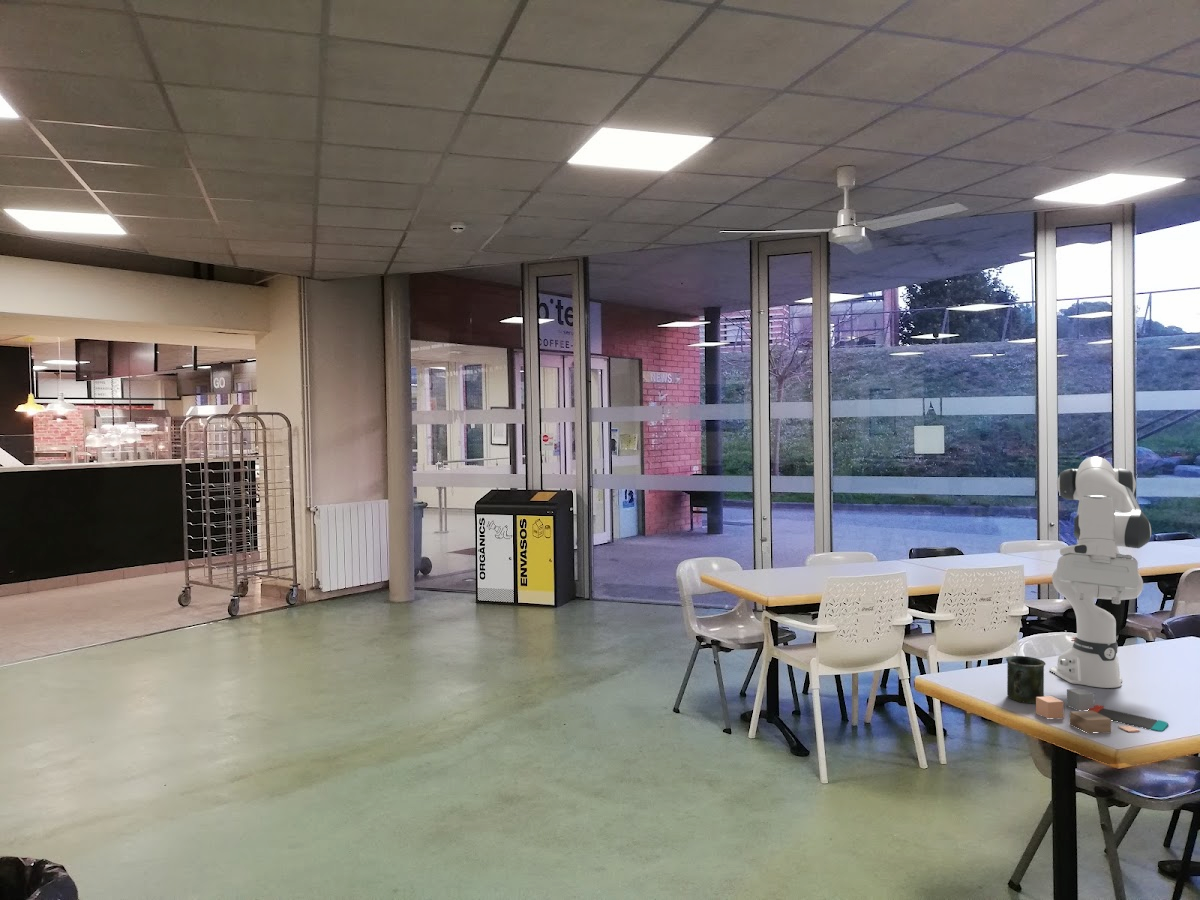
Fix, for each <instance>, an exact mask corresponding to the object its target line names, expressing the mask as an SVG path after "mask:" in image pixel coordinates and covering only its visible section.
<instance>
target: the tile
mask: <svg viewBox="0 0 1200 900" xmlns="http://www.w3.org/2000/svg"><path fill="white" fill-rule="evenodd" d="M1118 727H1119V728H1118ZM1118 727H1117V728H1118V729H1120V728H1121V729H1120V730H1122V729H1123V731H1124V730H1125V732H1126V731H1128V732H1127V733H1139V731H1140V732H1141V730H1140V729H1138V728H1136V727H1134V726H1131V725H1120V726H1118Z"/></svg>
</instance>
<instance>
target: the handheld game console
mask: <svg viewBox="0 0 1200 900" xmlns="http://www.w3.org/2000/svg"><path fill="white" fill-rule="evenodd" d="M1088 711H1095V712H1097V713H1099V714H1101V715H1103V716H1105V717H1107V718H1110V719H1111V720H1113V721H1112V722H1114V721H1118V722H1122V723H1125V724H1124V725H1127V724H1129V725H1128V726H1131V725H1134V726H1133V727H1136V726H1138V727H1137V728H1140V727H1143V728H1142V729H1145V728H1146V730H1149V729H1151V730H1150V731H1155V732H1164V731H1165V730H1166V729H1167V728H1168V727H1169V723H1168V722H1167V721H1164V720H1159V719H1158V720H1157V719H1154V718H1150V717H1146V716H1139V715H1135V714H1131V713H1125V712H1121V711H1118V710H1113V709H1108V708H1105V706H1104V705H1097V704H1096V705H1095V704H1094V708H1091V709H1089V710H1088ZM1118 722H1117V723H1118ZM1122 723H1121V724H1122Z"/></svg>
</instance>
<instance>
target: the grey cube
mask: <svg viewBox="0 0 1200 900" xmlns="http://www.w3.org/2000/svg"><path fill="white" fill-rule="evenodd" d="M1067 705H1068V706H1067ZM1094 705H1095V693H1093V692H1091V691H1090V690H1087V689H1085V688H1068V689H1066V706H1067V707H1069V706H1070V708H1071V707H1073V708H1075V709H1077V710H1076V711H1078V710H1088V709H1091V708H1094ZM1073 708H1072V709H1073ZM1075 709H1074V710H1075Z"/></svg>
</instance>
